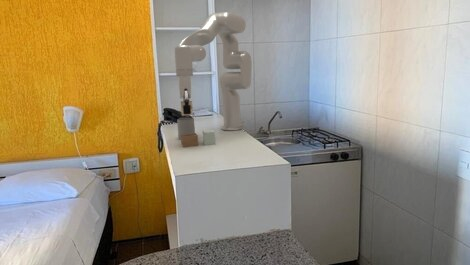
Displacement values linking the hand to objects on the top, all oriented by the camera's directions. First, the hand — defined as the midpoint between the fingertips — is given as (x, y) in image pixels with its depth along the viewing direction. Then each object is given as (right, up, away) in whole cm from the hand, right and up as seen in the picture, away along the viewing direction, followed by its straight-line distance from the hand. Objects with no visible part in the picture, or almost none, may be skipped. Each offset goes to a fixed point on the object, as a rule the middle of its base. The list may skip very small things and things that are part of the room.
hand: (186, 112), depth 171 cm
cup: (-2, -12, +19) cm, 23 cm away
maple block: (0, -1, 0) cm, 1 cm away
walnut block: (+1, -15, +3) cm, 15 cm away
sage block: (+10, -14, +4) cm, 18 cm away
